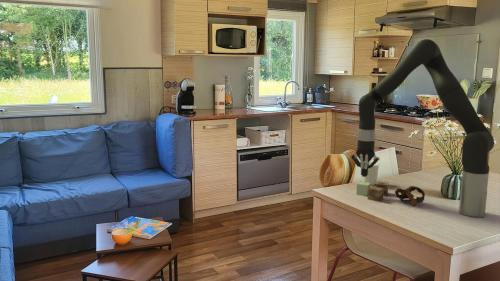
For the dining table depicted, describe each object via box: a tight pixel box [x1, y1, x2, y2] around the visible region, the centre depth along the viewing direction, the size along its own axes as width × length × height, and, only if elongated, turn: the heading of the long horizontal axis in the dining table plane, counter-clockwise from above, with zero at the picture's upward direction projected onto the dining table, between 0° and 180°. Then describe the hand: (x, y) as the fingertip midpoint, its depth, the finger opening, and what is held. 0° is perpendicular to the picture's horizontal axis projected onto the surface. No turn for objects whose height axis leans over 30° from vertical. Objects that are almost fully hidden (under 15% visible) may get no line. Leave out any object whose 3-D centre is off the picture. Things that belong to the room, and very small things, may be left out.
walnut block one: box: [375, 180, 389, 197], centre depth 203 cm, size 5×5×5 cm
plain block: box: [355, 180, 372, 197], centre depth 203 cm, size 5×5×5 cm
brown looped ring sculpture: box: [394, 185, 426, 207], centre depth 190 cm, size 12×10×8 cm
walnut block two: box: [367, 185, 385, 202], centre depth 195 cm, size 5×5×5 cm
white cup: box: [361, 161, 380, 186], centre depth 220 cm, size 8×8×10 cm
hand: (364, 176), depth 202 cm, fingers closed
